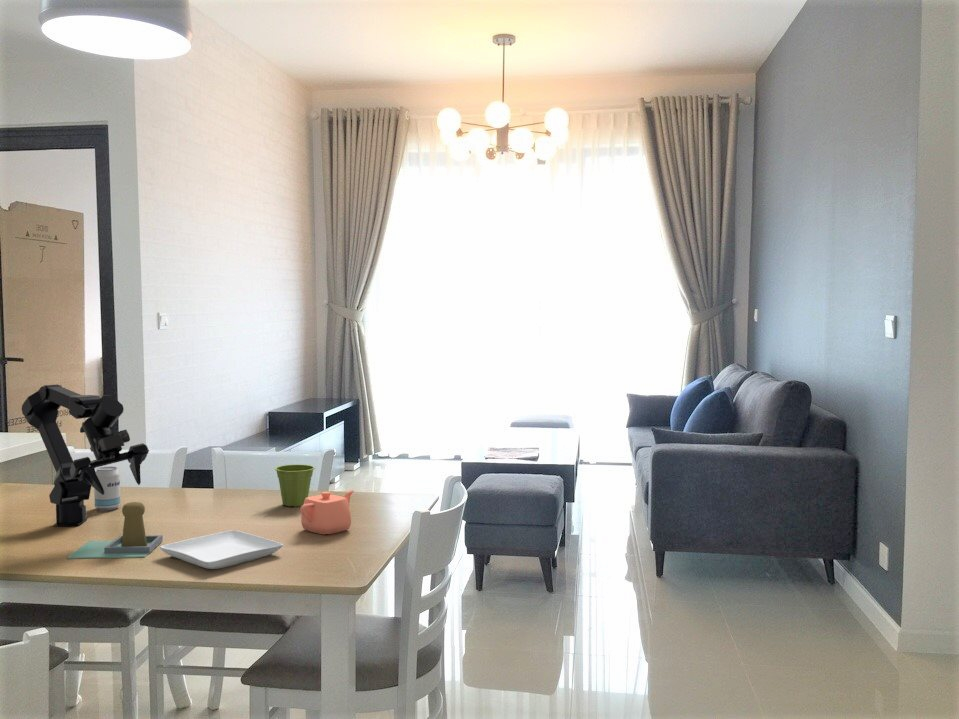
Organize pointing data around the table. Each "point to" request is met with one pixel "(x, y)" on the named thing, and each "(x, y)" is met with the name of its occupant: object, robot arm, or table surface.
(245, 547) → the salad plate
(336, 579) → the table surface
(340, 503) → the teapot
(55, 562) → the table surface
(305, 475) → the plant pot
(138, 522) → the cork
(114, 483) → the beverage can
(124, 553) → the board
